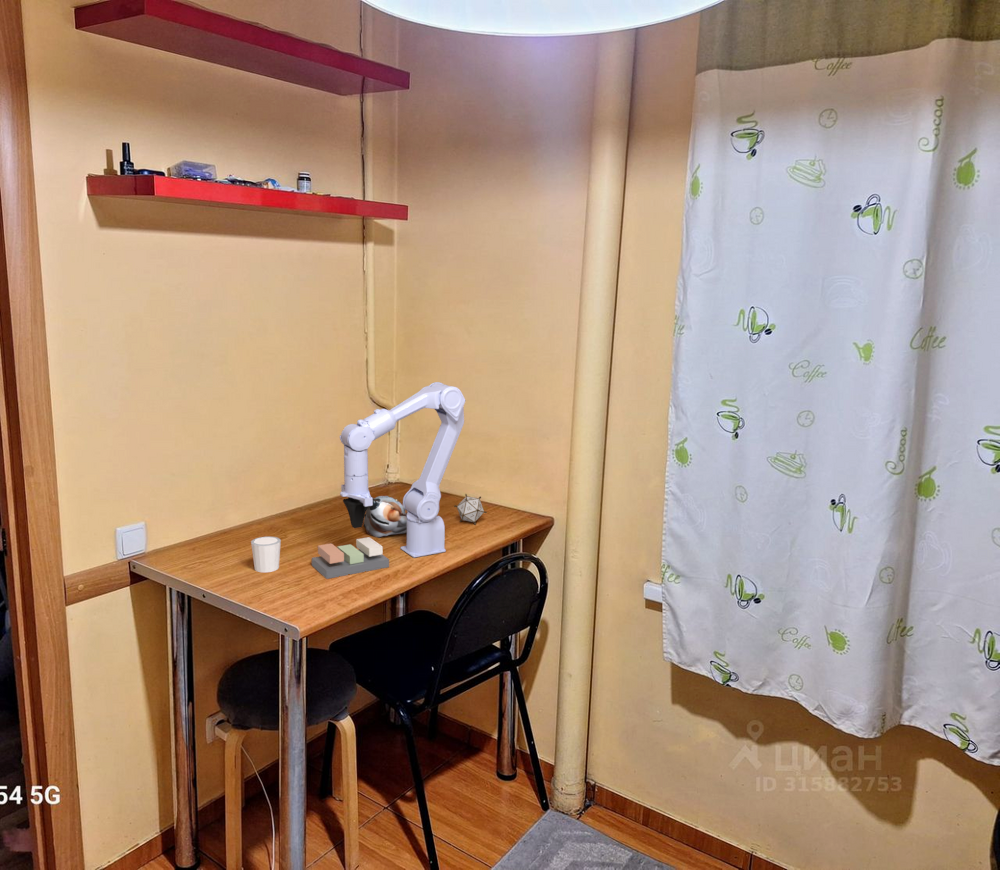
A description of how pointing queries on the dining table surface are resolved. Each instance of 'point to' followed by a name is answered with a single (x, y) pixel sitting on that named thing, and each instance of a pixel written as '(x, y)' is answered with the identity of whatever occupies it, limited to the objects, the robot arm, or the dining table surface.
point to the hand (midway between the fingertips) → (357, 527)
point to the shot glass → (266, 553)
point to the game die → (470, 509)
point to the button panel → (349, 566)
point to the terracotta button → (330, 553)
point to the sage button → (351, 554)
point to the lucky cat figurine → (385, 517)
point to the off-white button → (369, 546)
